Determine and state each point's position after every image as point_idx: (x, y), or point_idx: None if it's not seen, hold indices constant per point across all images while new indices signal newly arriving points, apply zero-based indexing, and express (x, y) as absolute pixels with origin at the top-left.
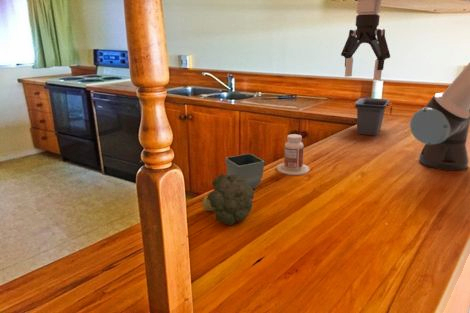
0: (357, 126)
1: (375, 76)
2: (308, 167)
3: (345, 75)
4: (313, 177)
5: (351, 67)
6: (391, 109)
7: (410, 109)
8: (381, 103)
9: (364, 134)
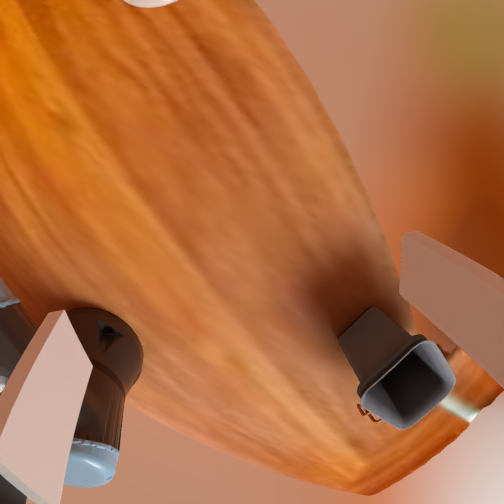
0: (382, 314)
1: (36, 332)
2: (141, 5)
3: (415, 235)
4: (89, 2)
5: (447, 323)
6: (370, 416)
7: (420, 449)
8: (412, 411)
9: (358, 319)
